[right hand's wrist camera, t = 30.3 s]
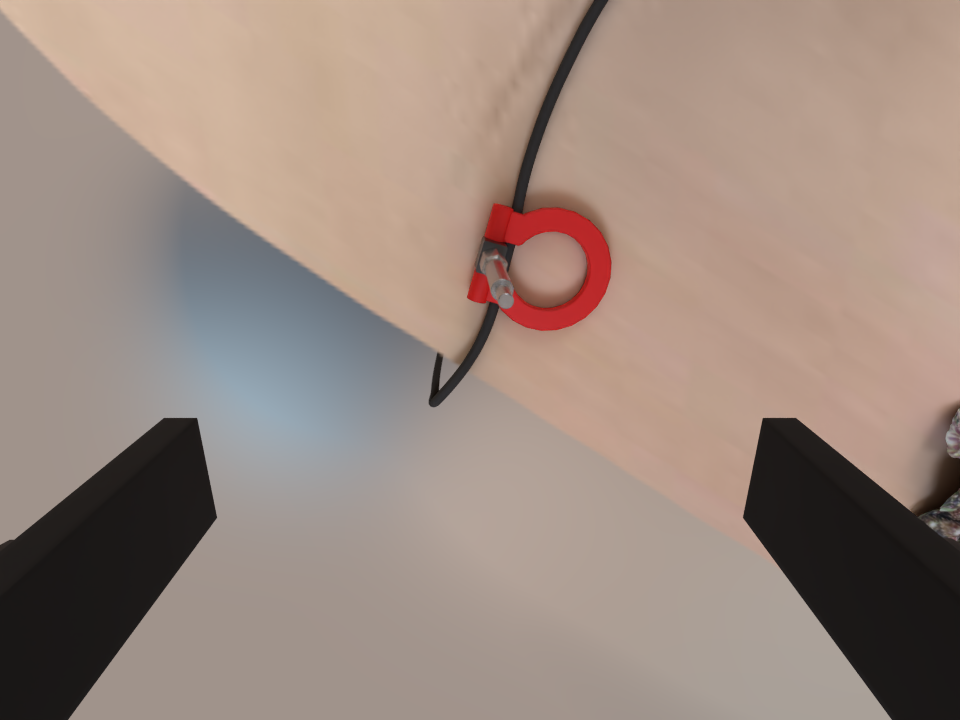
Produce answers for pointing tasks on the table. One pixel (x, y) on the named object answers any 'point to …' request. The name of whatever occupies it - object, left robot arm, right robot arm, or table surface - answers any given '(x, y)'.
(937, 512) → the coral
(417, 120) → the table surface
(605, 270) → the tow hook
